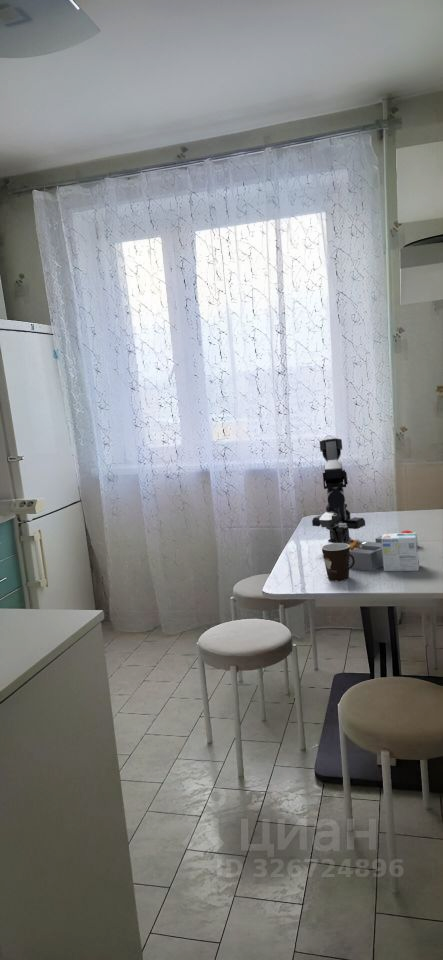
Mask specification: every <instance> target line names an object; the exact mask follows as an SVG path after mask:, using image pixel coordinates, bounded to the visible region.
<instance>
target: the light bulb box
mask: <svg viewBox="0 0 443 960" xmlns="http://www.w3.org/2000/svg"><path fill="white" fill-rule="evenodd" d="M381 536H382V538H381V544H382V555H383V565H382V567H383V572H407V571H408V572H415V571H416V572H418V571H419V568H420V557H419V545H418V543H419V542H418V534H417V532H413V533H401V532H400V533H397V532H396V533H383V534H382V535H381Z"/></svg>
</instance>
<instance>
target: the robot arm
mask: <svg viewBox="0 0 443 960" xmlns="http://www.w3.org/2000/svg"><path fill="white" fill-rule="evenodd" d="M342 442H343V441H342V438H338V437H327V438H325V439H322V440H320V441H319V450H320V451H319V452H322V457H323V458H324V460H325V461H326V463H325V464H324V465H323V468H324V469H323V470H324V471H323V470H322V480H323V489H324V490H326V494H327V495H326V497H327V502H328V503H327V505H326V507H325V512H324V513H323V514H321V515H317V516H315V517H313V518H312V520H311V523H312V524H311V525H312V527H321V528H325V529H326V530H329V539H328V540H327V542H331V543H345V542H346V541H349V540H352V537H350V531H349V529H350V530H351V529H352V530H358V529H360V528H363V527H366V520H365V519H364V517H353V518H352V517H351V512H350V511H349V509H348V508H347V507H348V504H347V503H345V502H346V497H345V492H344V491H345V490H344V488H347V485H349V484H348V474H347V471H346V469H343V464H342V463H341V462H340V461H339V459H340V457H341V455H342V453H341V452H342V450H343V443H342Z"/></svg>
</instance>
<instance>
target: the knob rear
mask: <svg viewBox="0 0 443 960" xmlns="http://www.w3.org/2000/svg"><path fill="white" fill-rule="evenodd" d="M368 542H369V541H368ZM368 542H367V541H360V540H359V539H350V541H349V545H350V550H351V548H353V547H355V548H360V549H362V545H363V544H366V543H368Z"/></svg>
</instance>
